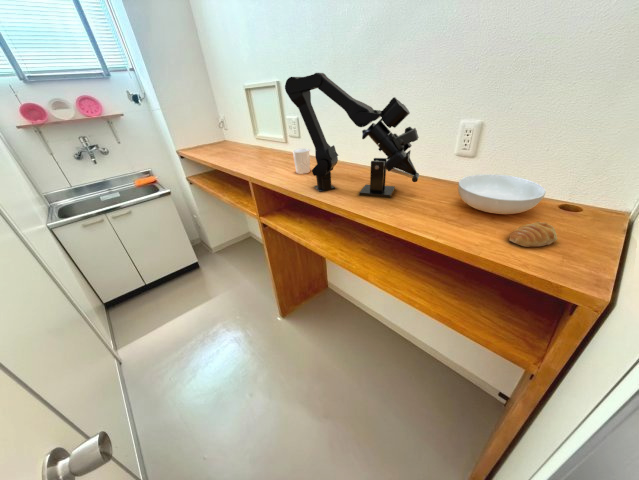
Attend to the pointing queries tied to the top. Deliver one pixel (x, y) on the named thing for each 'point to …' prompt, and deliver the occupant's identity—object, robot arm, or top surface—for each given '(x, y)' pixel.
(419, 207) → the top surface
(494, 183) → the serving bowl
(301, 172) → the white cup
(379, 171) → the bracket
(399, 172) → the lever
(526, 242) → the pastry
